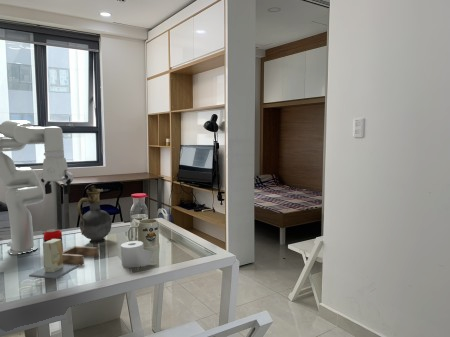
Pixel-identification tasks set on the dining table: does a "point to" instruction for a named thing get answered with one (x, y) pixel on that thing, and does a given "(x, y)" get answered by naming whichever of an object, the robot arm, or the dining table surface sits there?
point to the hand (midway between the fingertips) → (57, 193)
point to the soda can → (53, 235)
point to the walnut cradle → (78, 254)
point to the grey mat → (55, 274)
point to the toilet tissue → (135, 254)
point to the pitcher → (94, 218)
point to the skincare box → (53, 255)
